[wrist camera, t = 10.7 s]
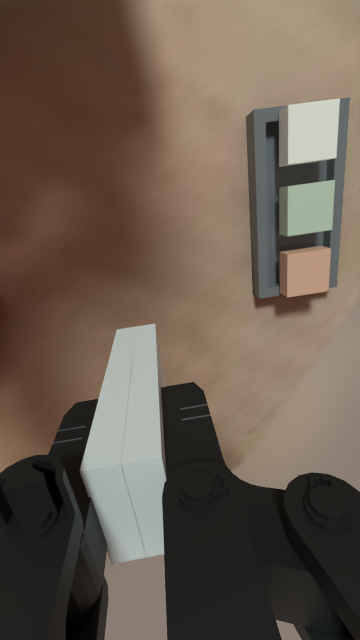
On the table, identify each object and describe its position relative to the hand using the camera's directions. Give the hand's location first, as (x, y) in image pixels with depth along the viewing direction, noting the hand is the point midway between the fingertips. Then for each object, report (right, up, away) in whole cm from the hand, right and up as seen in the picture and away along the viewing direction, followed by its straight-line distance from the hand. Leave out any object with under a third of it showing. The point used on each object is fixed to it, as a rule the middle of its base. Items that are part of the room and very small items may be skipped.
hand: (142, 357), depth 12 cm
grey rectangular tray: (+15, +15, +24) cm, 32 cm away
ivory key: (+14, +21, +20) cm, 33 cm away
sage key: (+15, +15, +23) cm, 31 cm away
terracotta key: (+16, +8, +26) cm, 31 cm away
